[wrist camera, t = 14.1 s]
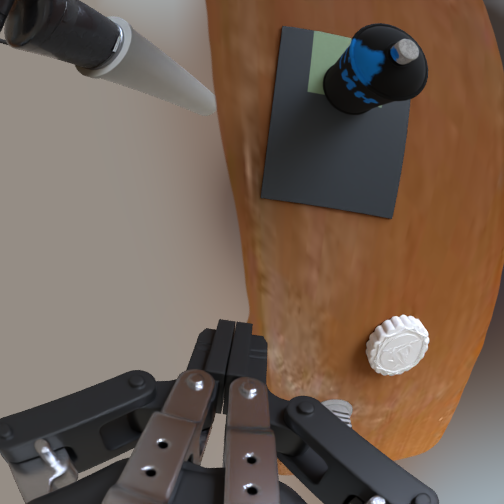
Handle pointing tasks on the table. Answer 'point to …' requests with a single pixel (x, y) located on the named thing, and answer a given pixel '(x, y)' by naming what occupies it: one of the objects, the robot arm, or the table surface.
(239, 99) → the table surface
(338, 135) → the board
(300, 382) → the table surface
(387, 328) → the mooncake
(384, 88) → the aerosol can
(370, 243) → the table surface
